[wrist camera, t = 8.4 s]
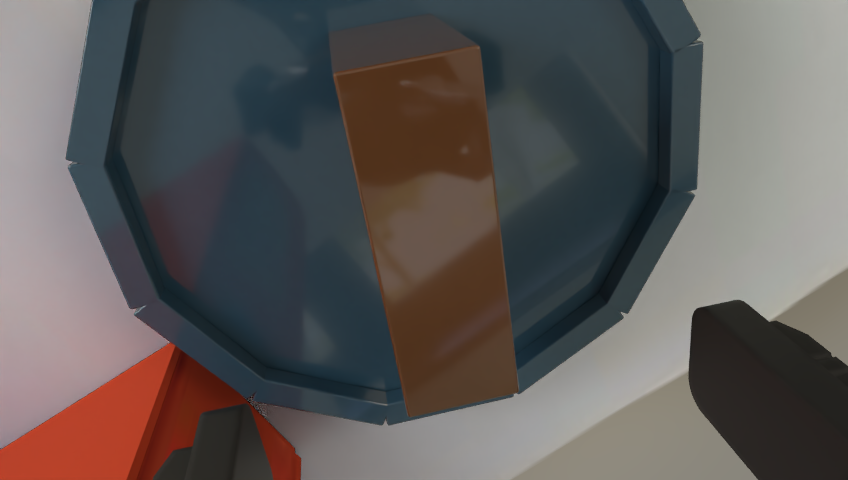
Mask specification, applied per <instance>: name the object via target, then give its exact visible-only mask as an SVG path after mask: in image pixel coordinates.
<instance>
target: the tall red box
mask: <svg viewBox="0 0 848 480" xmlns="http://www.w3.org/2000/svg"><path fill="white" fill-rule="evenodd" d="M244 403H247V404H248V405H249V406H250V408H251V410H252V413H253V416H254V419H255V422H256V425H257V428H258V431H259V434H260V437H261V440H262V443H263V446H264V449H265V452H266V455H267V458H268V461H269V464H270V467H271V471H272V475H273V480H300V478H301V458H300V457H299V456H298V455H297V454H296V453H295V448H294V447H293V446H292V445H291V444H290V443H289V442H288V441H287V440H286V439H285V438H284V437H283V436H282V435H281V434H280V433H279V432H278V431H277V430H276V429H275V428H274V427H273V426H272V425H271V424H270V423H269V422H268V421H267V420H266V419H265V418H264V417H263V416H262V415H261V414H260V413H259V412H258V411H257V410H256V409H255V408H254V407H253V406H252V405H251V404H250V403H249V402H248V401H247V400H246V399H245V398H244V397H243V396H242V395H241V394H239V393H238V392H237V391H235V390H234V389H233V388H231V387H230V386H229V385H227V384H226V383H225V382H223V381H222V380H221V379H219V378H218V377H217V376H215V375H214V374H213V373H211V372H210V371H209V370H207V369H206V368H205V367H203V366H202V365H201V364H199V363H198V362H197V361H195V360H194V359H193V358H191V357H190V356H188V355H187V354H186V353H184V352H183V351H182V350H180V349H179V348H178V347H176V346H175V345H174V344H172V343H169V344H168V345H166V346H165V347H163V348H161V349H160V350H158V351H157V352H155V353H153V354H152V355H150V356H149V357H147V358H146V359H144V360H142V361H141V362H139V363H138V364H136V365H134V366H133V367H131V368H130V369H128V370H127V371H125V372H123V373H122V374H120V375H119V376H117V377H115V378H114V379H112V380H111V381H109V382H107V383H106V384H104V385H103V386H101V387H100V388H98V389H96V390H95V391H93V392H92V393H90V394H88V395H87V396H85V397H84V398H82V399H81V400H79V401H77V402H76V403H74V404H73V405H71V406H69V407H68V408H66V409H65V410H63V411H61V412H60V413H58V414H57V415H55V416H54V417H52V418H50V419H49V420H47V421H46V422H44V423H42V424H41V425H39V426H38V427H36V428H34V429H33V430H31V431H30V432H28V433H27V434H25V435H23V436H22V437H20V438H19V439H17V440H15V441H14V442H12V443H11V444H9V445H8V446H6V447H4V448H3V449H1V450H0V480H153V477H154V475H155V474H156V473H157V471H158V470H159V469H160V467H161V466H162V465H163V463H164V462H165V461H166V459H167V458H168V457H169V455H170V454H171V453H172V451H173V450H176V449H181V448H186V447H190V446H193V442H194V438H195V434H196V429H197V425H198V421H199V417H200V415H201V414H202V413H203V412H206V411H211V410H216V409H221V408H225V407H230V406H235V405H239V404H244Z"/></svg>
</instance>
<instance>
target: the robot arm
mask: <svg viewBox="0 0 848 480" xmlns="http://www.w3.org/2000/svg"><path fill="white" fill-rule="evenodd" d="M689 385H690V389H691V392H692V396H693V398H694V400H695V402H696V404H697V406H698V407H699V409H700V411H701V412H702V413H703V414H704V416H705V417H706V418H707V419H708V420H709V421H710V423H711V424H712V425H713V426H714V427H715V429H716V430H717V431H718V432H719V433H720V434H721V436H722V437H723V438H724V439H725V441H726V442H727V443H728V444H729V445H730V446H731V448H732V449H733V450H734V451H735V453H736V454H737V455H738V456H739V457H740V459H741V460H742V461H743V462H744V463H745V464H746V466H747V467H748V468H749V469H750V470H751V472H752V473H753V474H754V475H755V476H756V478H757V479H758V480H848V366H847V365H846V364H844V363H843V362H842V361H841V360H839V359H838V358H837V357H832V356H831V353H830V352H829V351H828V350H826V349H825V348H824V347H823V346H822V345H820V344H819V343H818V342H816V341H815V340H814V339H812V338H811V337H810V336H809V335H807V334H805V333H803V332H801V331H798V330H796V329H794V328H791V327H789V326H787V325H785V324H782V323H780V322H778V321H772V322H769V321H767V320H766V319H765V318H764V317H763V316H761V315H760V314H759V313H758V312H756V311H755V310H754V309H753V308H752V307H750V306H749V305H748V304H747V303H745V302H744V301H741V300H733V301H729V302H724V303H719V304H715V305H710V306H705V307H700V308H697V309H696V310H695V311H694V313H693V316H692V326H691V343H690V359H689ZM153 480H273V475H272V471H271V467H270V464H269V461H268V458H267V455H266V452H265V449H264V446H263V443H262V440H261V437H260V434H259V431H258V428H257V425H256V422H255V419H254V416H253V413H252V410H251V408H250V406H249V405H248V404H247V403H244V404H239V405H235V406H230V407H225V408H221V409H216V410H211V411H206V412H203V413H202V414H201V415H200V417H199V421H198V425H197V429H196V434H195V438H194V442H193V446H190V447H186V448H181V449H176V450H173V451H172V453H171V454H170V455H169V457H168V458H167V459H166V461H165V462H164V463H163V465H162V466H161V467H160V469H159V470H158V471H157V473H156V474H155V475H154V477H153Z"/></svg>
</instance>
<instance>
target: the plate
mask: <svg viewBox="0 0 848 480" xmlns="http://www.w3.org/2000/svg"><path fill="white" fill-rule="evenodd" d="M700 36H701V34H700V32H699V30H698V28H697V26H696V24H695V22H694V21H693V19H692V17H691V15H690V13H689V12H688V10H687V8H686V6H685V4H684V2H683V1H682V0H92V3H91V9H90V15H89V21H88V27H87V33H86V39H85V45H84V51H83V57H82V63H81V69H80V75H79V81H78V87H77V93H76V99H75V105H74V111H73V117H72V123H71V129H70V135H69V141H68V147H67V153H66V160H69V161H73V162H72V163H71V164H70V165H69V166H68V169H69V172H70V174H71V176H72V178H73V181H74V183H75V185H76V188H77V190H78V192H79V194H80V197H81V199H82V201H83V203H84V206H85V208H86V210H87V213H88V215H89V217H90V219H91V222H92V224H93V226H94V229H95V231H96V233H97V235H98V238H99V240H100V242H101V244H102V247H103V249H104V251H105V254H106V256H107V258H108V260H109V263H110V265H111V267H112V270H113V272H114V274H115V276H116V279H117V281H118V283H119V285H120V288H121V290H122V292H123V295H124V297H125V299H126V301H127V304H128V306H129V308H130V309H134V308H137V309H136V311H135V313H134V315H135V316H136V317H137V318H139V319H140V320H142V321H143V322H144V323H146V324H147V325H148V326H150V327H151V328H152V329H154V330H155V331H156V332H158V333H159V334H160V335H162V336H163V337H164V338H166V339H167V340H168V341H170V342H171V343H172V344H174V345H175V346H176V347H178V348H179V349H180V350H182V351H183V352H184V353H186V354H187V355H188V356H190V357H191V358H193V359H194V360H195V361H197V362H198V363H199V364H201V365H202V366H203V367H205V368H206V369H207V370H209V371H210V372H211V373H213V374H214V375H215V376H217V377H218V378H219V379H221V380H222V381H223V382H225V383H226V384H227V385H229V386H230V387H231V388H233V389H234V390H235V391H237V392H238V393H239V394H241V395H242V396H244V397H245V398H246V399H248V398H249V397H251V396H252V395H253V401H254V402H260V403H265V404H270V405H276V406H281V407H286V408H291V409H297V410H302V411H307V412H313V413H318V414H323V415H328V416H334V417H339V418H344V419H350V420H355V421H360V422H366V423H371V424H376V425H383V423H384V421H385V419H386V421H387V424H388V425H393V424H398V423H402V422H406V421H411V420H415V419H419V418H424V417H428V416H432V415H437V414H441V413H445V412H450V411H454V410H458V409H463V408H467V407H471V406H476V405H480V404H484V403H489V402H493V401H498V400H502V399H506V398H511V397H513V396H514V394H516V393H517V394H520V393H522V392H523V391H524V390H526V389H527V388H529V387H530V386H531V385H533V384H534V383H535V382H537V381H538V380H540V379H541V378H542V377H544V376H545V375H546V374H548V373H549V372H551V371H552V370H553V369H555V368H556V367H557V366H559V365H560V364H562V363H563V362H564V361H566V360H567V359H568V358H570V357H571V356H572V355H574V354H575V353H577V352H578V351H579V350H581V349H582V348H583V347H585V346H586V345H588V344H589V343H590V342H592V341H593V340H594V339H596V338H597V337H599V336H600V335H601V334H603V333H604V332H605V331H607V330H608V329H610V328H611V327H612V326H614V325H615V324H616V323H618V322H619V321H621V320H622V319H623V318H624V317H623V315H622V314H621V313H620V312H623V313H627V314H628V313H629V311H630V309H631V307H632V306H633V304H634V302H635V300H636V299H637V297H638V295H639V293H640V292H641V290H642V288H643V286H644V285H645V283H646V281H647V279H648V278H649V276H650V274H651V272H652V271H653V269H654V267H655V265H656V264H657V262H658V260H659V258H660V257H661V255H662V253H663V251H664V249H665V248H666V246H667V244H668V242H669V241H670V239H671V237H672V235H673V234H674V232H675V230H676V228H677V227H678V225H679V223H680V221H681V220H682V218H683V216H684V214H685V213H686V211H687V209H688V207H689V206H690V204H691V202H692V200H693V199H694V197H695V195H694V194H693V193H692V192H690V191H692V190H696V189H697V177H698V154H699V131H700V108H701V85H702V62H703V42H701V41H697V39H698V38H699V37H700Z"/></svg>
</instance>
